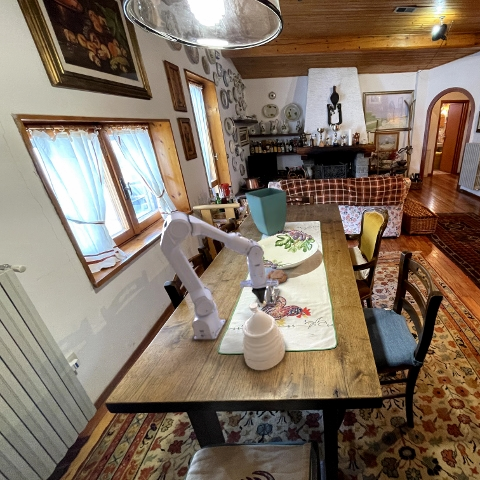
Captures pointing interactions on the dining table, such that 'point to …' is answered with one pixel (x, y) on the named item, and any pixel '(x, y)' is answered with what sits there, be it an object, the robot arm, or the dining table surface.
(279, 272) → the cookie
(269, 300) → the bracket
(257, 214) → the flower pot
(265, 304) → the tap lever
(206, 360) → the dining table surface
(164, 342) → the dining table surface
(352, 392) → the dining table surface
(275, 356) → the honey pot
